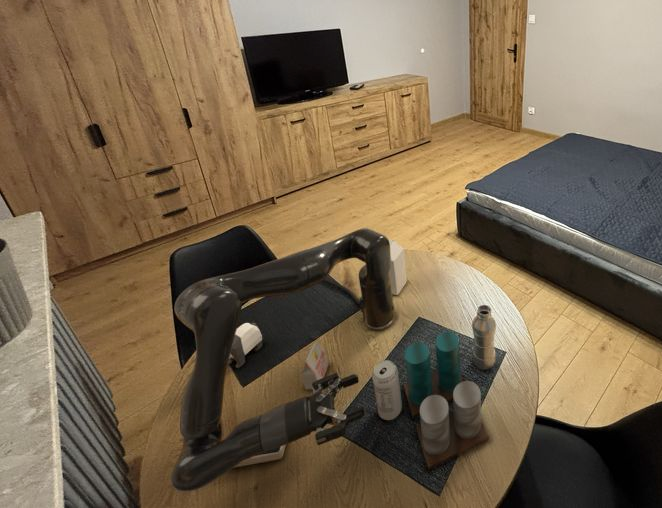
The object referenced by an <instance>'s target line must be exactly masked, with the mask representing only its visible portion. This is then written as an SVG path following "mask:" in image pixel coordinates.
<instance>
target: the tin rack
mask: <svg viewBox="0 0 662 508" xmlns="http://www.w3.org/2000/svg"><path fill="white" fill-rule="evenodd" d="M452 403H453V410H452V411H449V410H450V408H449V403H447V401H446V400H445V398H443V397H442V396H440V395H431V396H429V397H427V398H426V399H424V401H423V402H422V404H421V406H420V416H419V420H420V425H419V426H417V427H416V433H417V434H416V435H417V437H418V440H419V443H420V446H421V450H422V453H423V456H424V460H425V463H426V466H427V470H428V471H430V470H432V469H434V468H436V467H438V466H440V465H442V464H444V463H446V462H448V461H450V460H452V459H454V458H455V457H457V456H459V455H462V454H463V453H465V452H467V451H469V450H472V449H473V448H475V447H477V446H479V445H481V444H483V443H485V442H487V441H489V440H490V436H489V434H488V431H487V428H486V427H485V424H484V423H483V421H482V417H481V416H482V392H481V389H480V387H479V386H478V385H477V384H476V383H475V382H473V381H470V380H463V382H461V383H459V384H458V385H457V386H456V387H455V389H454V392H453V401H452Z"/></svg>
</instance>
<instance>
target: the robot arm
mask: <svg viewBox="0 0 662 508" xmlns="http://www.w3.org/2000/svg"><path fill="white" fill-rule="evenodd" d="M389 242H390V240H389V238H388V237H387V236H386V235H385V234H382V233H380V232H378V231H375V230H373V229H370V228H365V227H364V228H359V229H357V230H354V231H352V232H349V233H348V234H345V235H343V236H340V237H339V238H337V239H333V240H331V241H328V242H325V243H323V244H320V245H317V246H313V247H311V248H307V249H303V250H299V251H297V252H294V253H291V254H289V255H285V256H283V257H280V258H277V259H274V260H271V261H268V262H265V263H263V264H259V265H257V266H254V267H251V268H247V269H243V270H239V271H235V272H231V273H226V274H222V275H217V276H213V277H209V278H205V279H202V280H199V281H197V282H195V283H192V284H191V285H190V286H188V287H186V289H184V290H183V291H182V292H181V293H180V294H179V296H178V297H177V298H176V300H175V303H174V308H173V310H174V314H175V316H176V317H177V319H178V320H179V321H180V322H181V323H182V324H183V325H185V326H186V327H187V328H188V329H190V331H192V332H193V333H194V338H195V339H194V340H195V349H196V350H195V351H196V352H195V353H196V354H195V361H194V365H193V369H192V371H191V373H190V375H189V377H188V380H187V381H186V383H185V386H184V389H183V393H182V398H181V405H180V417H179V433H180V435H181V436H182V437H183V442H182V446H181V450H180V453H179V455H178V458H177V460H176V462H175V465H174V468H173V470H172V472H171V478H170V481H171V485H172V488H174V490H176V491H178V492H183V493H186V492H194V491H197V490H199V489H202V488H203V487H206V486H208V485H209V484H211V483H213V482H214V481H215V480H217V479H219V478H220V477H222V476H223V475H224V474H226V473H228V472H229V471H231V470H232V469H234V467H235V466H236V465H238V464H239V463H240V462H242V461H244V460H246V459H249V458H251V457H254V456H256V455H259V454H261V453H263V452H266V451H269V450H272V449H276V448H279V447H281V446H283V445H285V446H286V445H288V444H290V443H293V442H295V441H298V440H300V439H302V438H305V437H307V436H309V435H311V433H313V432H316V433H315V435H314V438H315V441H316V445H318V446H321V445H323V444H326V443H328V442H331V441H334V440H337V439H339V438H343V437H344V436H346V434H347V427H348V425H350V424H352V423H354V422H356V421H358V420H361V419H362V418H363V416H365V414H366V413H365V408H364V406H363V405H362V406H360V407H357V408H355V409H352V410H349V411H346V414H345V413H341V412H338V411H337V410H336V408H335V399H336V397H337V395H338V393H339V392H340V391H341V390H342V389H345V388H349V387H351V386H354V385H357V384H358V383H359V381H360V380H359V375H358V374H354V373H353V374H350V375H347V376H345V377H342V378H341V377H340V376H339V374H338V372H334V373H332V374H329V375H325V376H324V378H322V379H319V380H317V381H315V382H313V383H312V388H313V389H312V391H313V394H312V395H310V396H302V397H300V398H297V399H295V400H292V401H289V402H286V403H284V404H281V405H279V406H275V407H274V408H271V409H270V410H268V411H266V412H264V413H261V414H259V415H256V416H254V417H250V418H248V419H246V420H243V421H241V422H239V423H237V424H235V426H234V427H233V428H232V429H231V431H230V433H229V434H228V435H227V436H226V438H224V439H223V421H222V416H223V409H224V397H225V383H226V376H227V370H228V365H229V364H228V361H229V357H230V353H231V349H232V345H233V341H234V337H235V333H236V330H237V328H238V327H239V322H240V318H241V313H242V306H243V303H246V302H247V301H251V300H255V299H260V298H261V299H262V298H267V297H268V298H269V297H277V296H284V295H285V296H286V295H291V294H296V293H298V292H301V291H304V290H306V289H309V288H311V287H314V286H316V285H318V284H320V283H322V282H326V283H329V284H330V285H333V286H335V287H337V288H339V289H341V290H343V291H344V292H346V293H347V294H348V295H349V296H350V297H351V298H352V299H353V300H354V302H356V304H357V305H359V306H360V307H359V308H360V312H361V315H362V320H363V322H365V325H366V327H367V328H368V329H369V330H373V331H382V330H386V329H388V328H389V327H390V326H391V325H392V324H393V323H394V321H395V319H396V315H395V313H396V312H395V304H394V300H393V294H392V289H391V281H390V273H389V272H390V268H391V251H390V243H389ZM351 259H358V260H359V261H361V262H362V263H365V264H364V265H363V266H362V267H361V268H360V269H359V271H358V282H359V288H360V293H361V296H360V298H358V297H356V295H355V294H354V292H352V291H351V290H350V289H348V288H347V287H345V286H343V285H341V284H339V283H337V282H335V281H332V280H330V279H327V277H328V276H329V275H330V273H331V272H332V271H333V269H334V268H335V266H336V265H338V264H340V263H342V262H344V261H347V260H351ZM327 425H330V427H328V428H325V427H326V426H327ZM235 468H236V467H235Z"/></svg>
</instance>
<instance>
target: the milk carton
mask: <svg viewBox="0 0 662 508" xmlns="http://www.w3.org/2000/svg"><path fill="white" fill-rule="evenodd" d="M389 243H390V251H391V268H390V272H389V273H390V281H391V289H392V295H395V296H398V295H399V294H400V292H402V290H403V289H404V286H405V285H406V284H407V281H408V280H407V273H406V272H407V271H406V263H405V251H404V248H403V247H402V246H401V245H400V244H399V243H398V242H397V241H396V240H395V238H394V237H393V238H392V239H391V240H389Z"/></svg>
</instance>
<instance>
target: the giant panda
mask: <svg viewBox="0 0 662 508" xmlns="http://www.w3.org/2000/svg"><path fill="white" fill-rule="evenodd" d="M262 347H263V335H262V332H261V330H260V329H259V325H258V324H257V323H256V322H251V323H250V322H245V323H242V324H241V325H240V326H238V327H237V330H236V333H235V337H234V341H233V345H232V349H231V353H230V357H229V361H228V365H231V364H233V363H234V362H236V364H235V368H236V369H240V368H241V367H242V366H243V365H245V363H246V355H247V354H249V352H250V351H252V350H253V351H254V352H257V351H259V350H260V349H261V348H262Z"/></svg>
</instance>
